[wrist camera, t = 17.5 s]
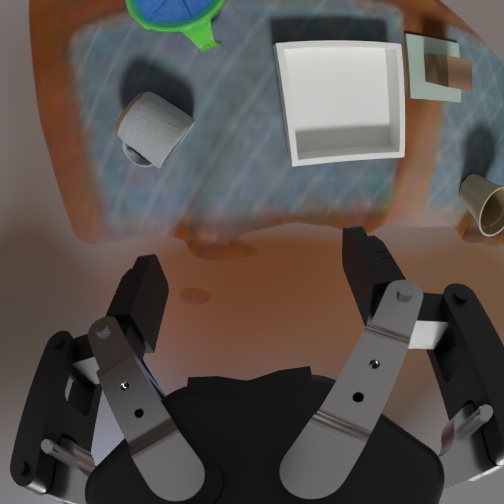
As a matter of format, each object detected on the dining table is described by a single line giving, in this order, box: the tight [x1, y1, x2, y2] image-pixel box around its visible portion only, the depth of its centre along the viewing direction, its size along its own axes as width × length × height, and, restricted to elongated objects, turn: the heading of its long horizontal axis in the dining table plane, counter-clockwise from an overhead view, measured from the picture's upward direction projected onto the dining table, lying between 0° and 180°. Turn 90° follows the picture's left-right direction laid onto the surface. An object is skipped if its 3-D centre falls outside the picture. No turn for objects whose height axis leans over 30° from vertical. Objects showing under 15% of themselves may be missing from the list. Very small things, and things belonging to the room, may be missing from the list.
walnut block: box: [424, 53, 472, 91], centre depth 28 cm, size 4×4×6 cm
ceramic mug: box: [116, 91, 196, 168], centre depth 34 cm, size 11×8×8 cm
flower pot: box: [459, 174, 504, 236], centre depth 39 cm, size 9×9×9 cm
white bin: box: [273, 40, 405, 167], centre depth 33 cm, size 16×16×4 cm
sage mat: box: [404, 34, 461, 102], centre depth 31 cm, size 10×10×1 cm
